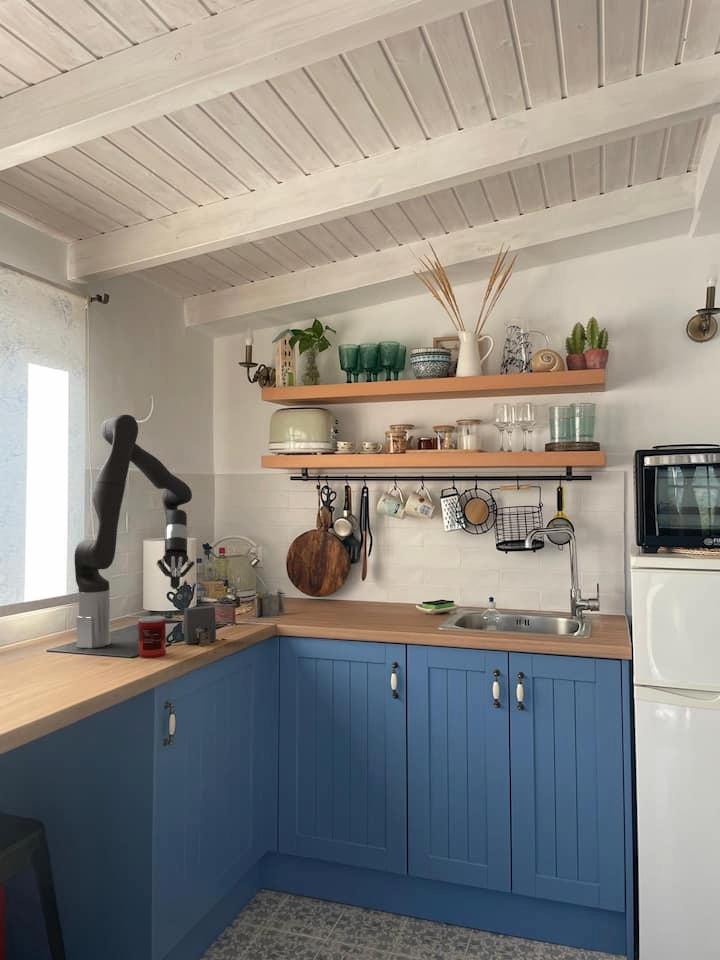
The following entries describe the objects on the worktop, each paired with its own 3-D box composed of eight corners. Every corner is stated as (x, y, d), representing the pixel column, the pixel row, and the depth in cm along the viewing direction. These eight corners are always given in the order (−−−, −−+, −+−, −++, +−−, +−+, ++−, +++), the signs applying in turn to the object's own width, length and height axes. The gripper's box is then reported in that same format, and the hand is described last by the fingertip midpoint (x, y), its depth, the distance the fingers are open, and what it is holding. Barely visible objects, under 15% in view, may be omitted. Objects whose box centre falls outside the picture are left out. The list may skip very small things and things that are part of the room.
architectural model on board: (257, 618, 280) (257, 593, 280) (254, 617, 282) (254, 592, 283) (285, 615, 286) (284, 590, 286) (281, 614, 288) (281, 589, 288)
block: (184, 641, 235) (184, 608, 235) (212, 638, 239) (211, 605, 239) (187, 643, 231) (187, 609, 231) (215, 640, 235) (215, 607, 235)
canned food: (155, 651, 223) (154, 614, 223) (171, 654, 218) (170, 617, 218) (133, 656, 217) (132, 618, 217) (149, 659, 212) (148, 621, 212)
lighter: (237, 624, 267) (237, 596, 267) (233, 625, 264) (233, 597, 264) (217, 623, 269) (217, 595, 269) (213, 625, 266) (212, 597, 266)
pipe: (159, 636, 246) (159, 623, 246) (212, 630, 254) (212, 618, 254) (176, 649, 226) (176, 635, 226) (233, 642, 234) (233, 629, 234)
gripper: (158, 534, 249) (156, 584, 242) (197, 537, 255) (197, 586, 248) (154, 542, 255) (153, 590, 249) (193, 544, 261) (192, 592, 254)
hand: (175, 588), depth 248 cm, fingers closed
